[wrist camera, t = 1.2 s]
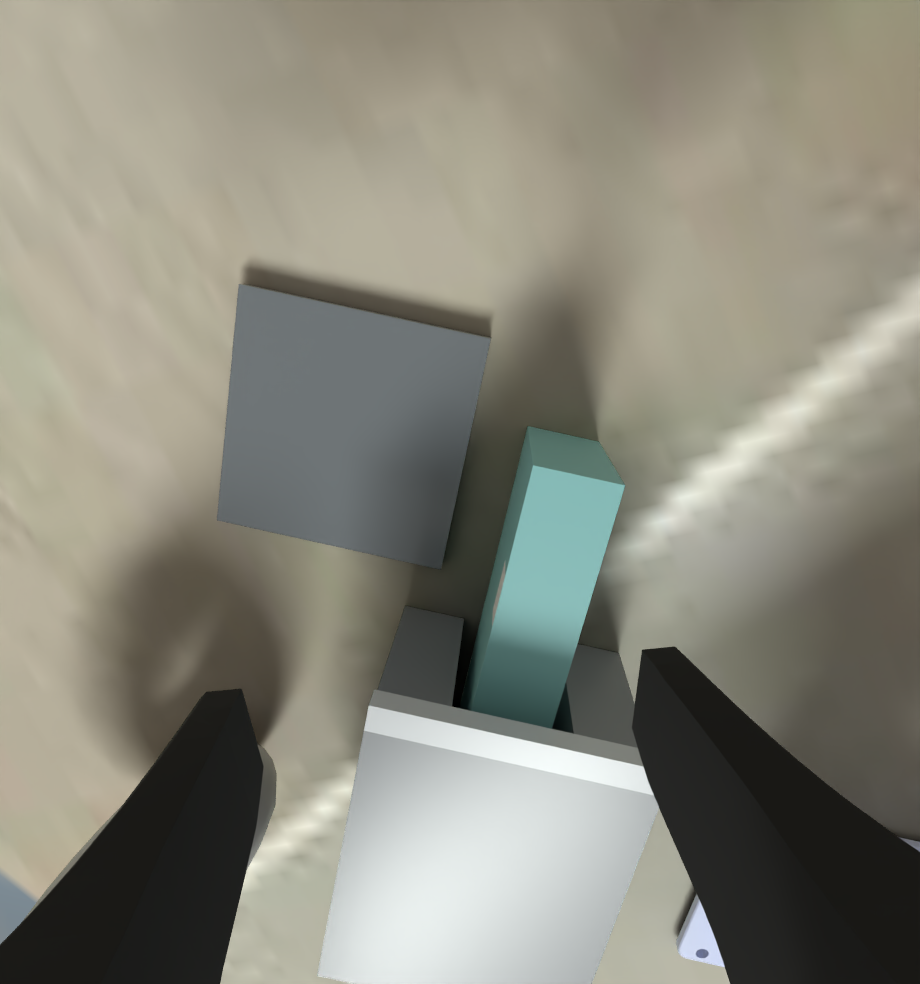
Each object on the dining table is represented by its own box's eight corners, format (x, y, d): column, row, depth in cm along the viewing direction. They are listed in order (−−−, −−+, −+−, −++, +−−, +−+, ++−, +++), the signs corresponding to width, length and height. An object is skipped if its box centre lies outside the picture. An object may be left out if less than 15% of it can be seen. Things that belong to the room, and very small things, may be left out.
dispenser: (625, 634, 23) (672, 773, 16) (556, 844, 26) (572, 1033, 19) (409, 586, 23) (368, 705, 16) (365, 801, 26) (317, 975, 19)
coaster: (491, 337, 20) (490, 338, 20) (442, 562, 23) (441, 569, 22) (246, 284, 20) (238, 283, 20) (224, 514, 23) (216, 520, 22)
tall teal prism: (598, 440, 21) (625, 485, 16) (521, 713, 25) (524, 819, 20) (527, 425, 21) (532, 465, 16) (460, 699, 25) (447, 801, 20)
